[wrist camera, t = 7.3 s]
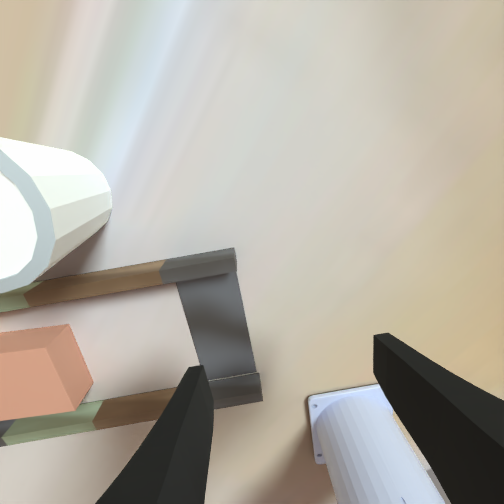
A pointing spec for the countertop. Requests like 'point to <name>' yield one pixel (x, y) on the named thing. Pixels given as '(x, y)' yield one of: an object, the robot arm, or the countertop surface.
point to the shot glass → (45, 208)
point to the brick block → (41, 372)
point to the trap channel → (200, 323)
